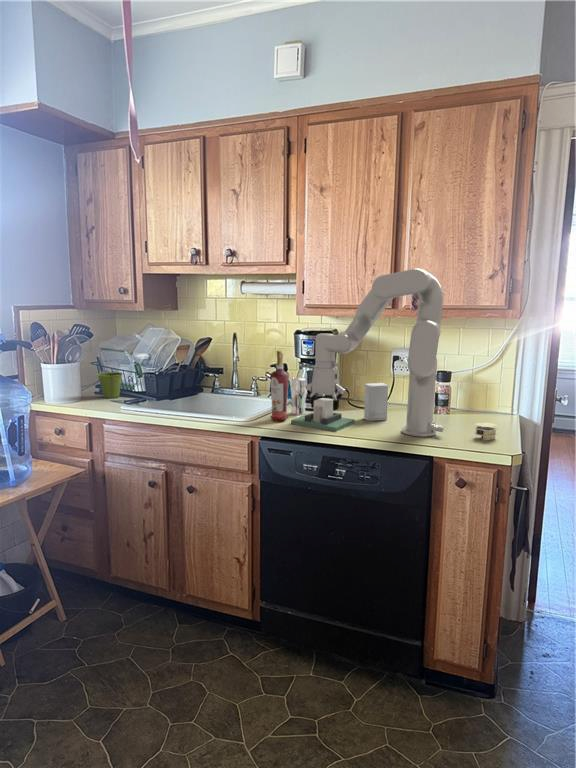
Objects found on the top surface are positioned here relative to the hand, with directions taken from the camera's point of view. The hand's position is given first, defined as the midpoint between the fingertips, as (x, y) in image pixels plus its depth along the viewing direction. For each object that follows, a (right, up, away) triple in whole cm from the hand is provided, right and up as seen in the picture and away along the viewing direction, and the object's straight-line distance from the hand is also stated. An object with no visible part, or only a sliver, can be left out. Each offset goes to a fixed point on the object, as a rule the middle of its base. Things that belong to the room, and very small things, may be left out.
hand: (324, 408), depth 207 cm
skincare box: (+21, -5, +10) cm, 24 cm away
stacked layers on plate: (+57, -11, -17) cm, 60 cm away
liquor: (-18, -5, +5) cm, 20 cm away
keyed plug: (-1, -5, +1) cm, 5 cm away
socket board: (-1, -6, +1) cm, 6 cm away
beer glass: (-10, -3, +18) cm, 21 cm away
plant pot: (-100, +3, +46) cm, 110 cm away
